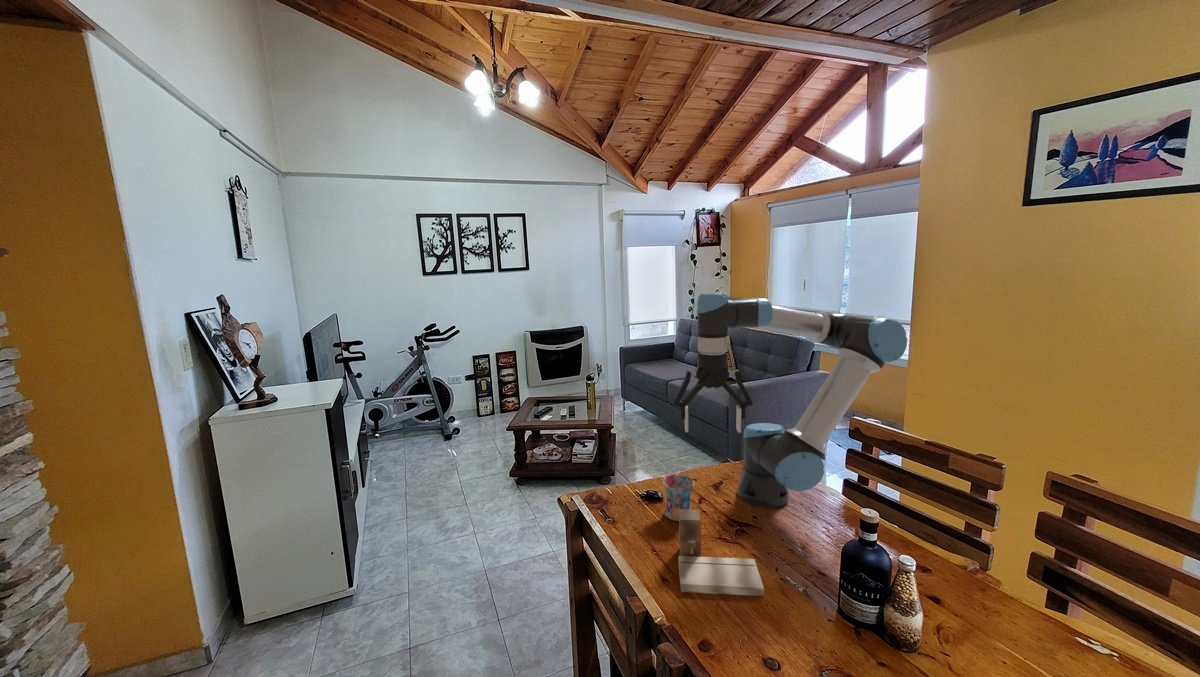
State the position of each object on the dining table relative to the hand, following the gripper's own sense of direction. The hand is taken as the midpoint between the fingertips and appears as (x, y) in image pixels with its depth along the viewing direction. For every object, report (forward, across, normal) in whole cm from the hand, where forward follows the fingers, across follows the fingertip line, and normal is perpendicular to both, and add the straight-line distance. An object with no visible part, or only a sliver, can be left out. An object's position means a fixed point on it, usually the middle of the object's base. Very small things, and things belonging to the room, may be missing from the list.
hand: (712, 430), depth 120 cm
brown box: (+29, +7, +13) cm, 32 cm away
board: (+29, +1, +20) cm, 35 cm away
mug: (+29, +8, -8) cm, 31 cm away
